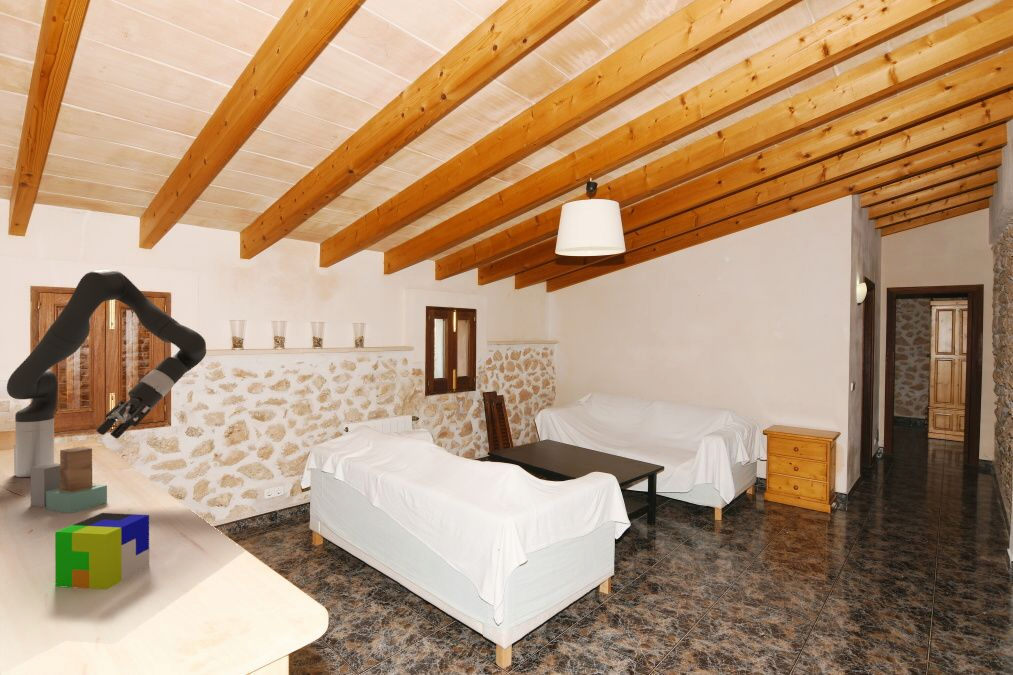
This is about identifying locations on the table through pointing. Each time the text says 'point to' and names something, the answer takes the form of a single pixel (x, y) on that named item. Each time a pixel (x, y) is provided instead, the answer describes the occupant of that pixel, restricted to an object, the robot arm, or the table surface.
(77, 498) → the teal base block
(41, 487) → the slate-grey block
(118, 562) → the puzzle toy
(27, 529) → the table surface
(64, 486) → the walnut block
